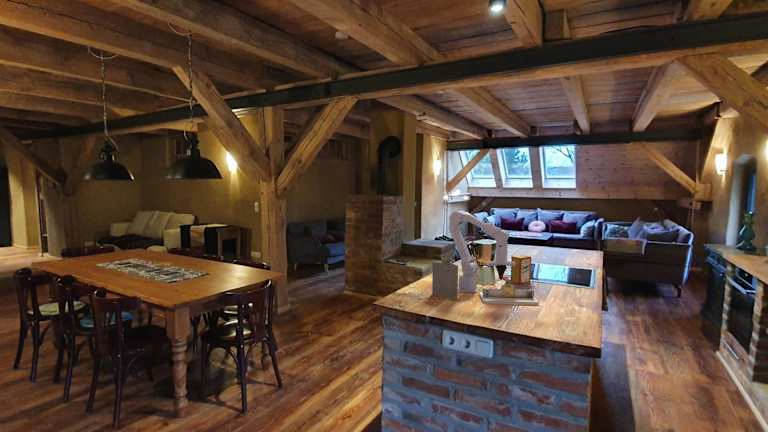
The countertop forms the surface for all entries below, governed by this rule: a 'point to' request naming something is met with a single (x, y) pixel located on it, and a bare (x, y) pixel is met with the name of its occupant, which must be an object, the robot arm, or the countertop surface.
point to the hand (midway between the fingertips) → (500, 279)
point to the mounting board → (508, 300)
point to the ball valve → (508, 292)
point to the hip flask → (445, 279)
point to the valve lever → (506, 279)
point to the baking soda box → (521, 269)
